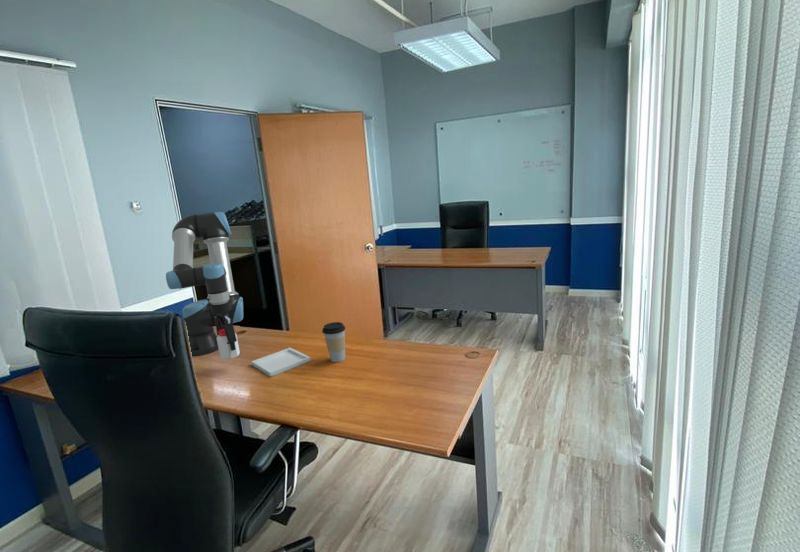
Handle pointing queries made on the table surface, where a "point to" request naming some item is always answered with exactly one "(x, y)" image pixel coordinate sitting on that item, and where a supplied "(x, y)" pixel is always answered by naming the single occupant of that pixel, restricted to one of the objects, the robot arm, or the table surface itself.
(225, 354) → the pill bottle
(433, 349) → the table surface
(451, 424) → the table surface
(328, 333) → the coffee cup
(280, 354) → the tray
